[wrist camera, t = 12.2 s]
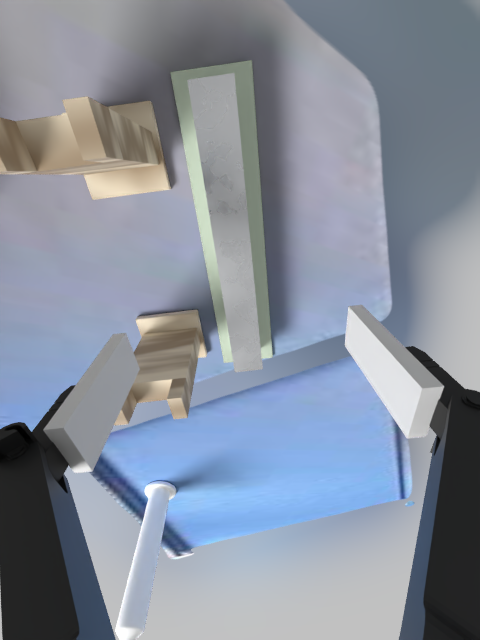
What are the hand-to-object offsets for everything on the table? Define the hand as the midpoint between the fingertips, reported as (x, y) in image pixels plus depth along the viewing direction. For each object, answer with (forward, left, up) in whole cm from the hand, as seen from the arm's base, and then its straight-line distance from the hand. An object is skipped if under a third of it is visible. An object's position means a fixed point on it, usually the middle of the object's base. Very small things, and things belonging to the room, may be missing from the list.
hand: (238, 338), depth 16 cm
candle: (+53, -24, -22) cm, 62 cm away
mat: (0, 0, -22) cm, 22 cm away
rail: (0, 0, -21) cm, 21 cm away
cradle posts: (0, -11, -22) cm, 24 cm away
